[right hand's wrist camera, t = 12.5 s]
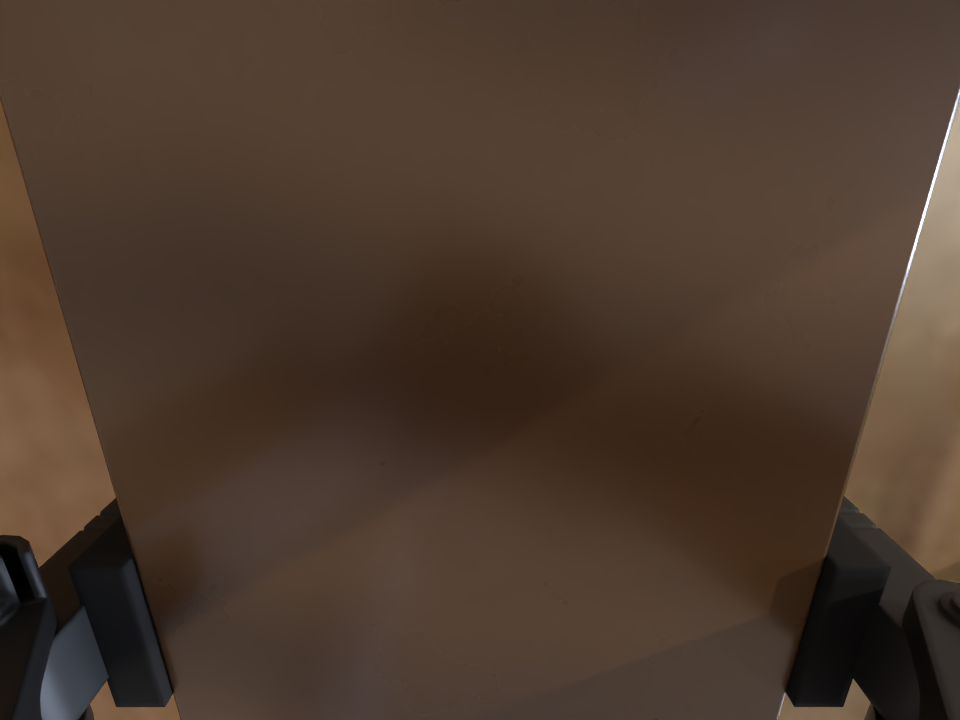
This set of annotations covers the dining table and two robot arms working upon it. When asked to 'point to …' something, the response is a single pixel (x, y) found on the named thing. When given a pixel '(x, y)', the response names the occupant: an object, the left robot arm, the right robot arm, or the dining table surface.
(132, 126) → the wooden beam
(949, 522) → the dining table surface
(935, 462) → the dining table surface
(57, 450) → the dining table surface
